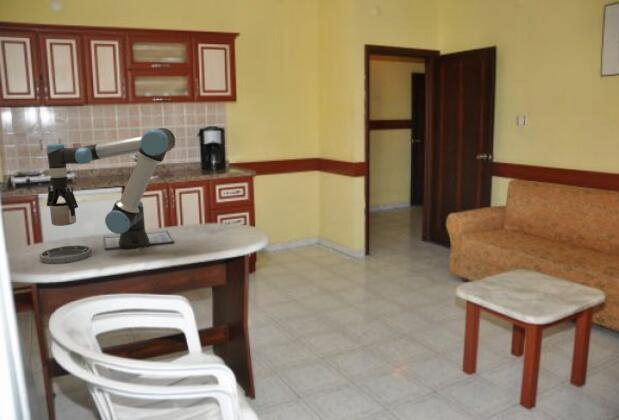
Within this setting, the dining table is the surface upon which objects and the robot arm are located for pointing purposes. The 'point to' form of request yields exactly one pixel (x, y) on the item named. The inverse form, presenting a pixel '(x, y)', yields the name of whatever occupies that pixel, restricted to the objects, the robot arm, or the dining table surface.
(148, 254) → the dining table surface
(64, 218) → the planter
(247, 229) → the dining table surface
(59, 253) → the tray
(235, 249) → the dining table surface
